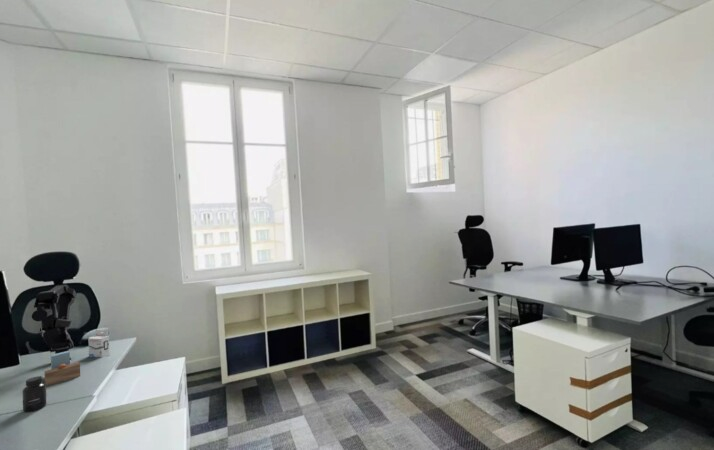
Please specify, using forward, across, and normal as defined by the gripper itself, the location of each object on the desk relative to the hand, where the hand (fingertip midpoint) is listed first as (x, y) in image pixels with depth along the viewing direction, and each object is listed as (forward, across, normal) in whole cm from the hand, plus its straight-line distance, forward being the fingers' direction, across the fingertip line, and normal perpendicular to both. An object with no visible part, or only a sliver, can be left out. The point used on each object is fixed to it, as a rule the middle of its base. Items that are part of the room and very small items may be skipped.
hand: (50, 346), depth 163 cm
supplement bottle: (+13, -41, +9) cm, 44 cm away
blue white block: (+12, -15, -2) cm, 19 cm away
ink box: (+13, +2, -20) cm, 24 cm away
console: (+13, -16, -2) cm, 21 cm away
